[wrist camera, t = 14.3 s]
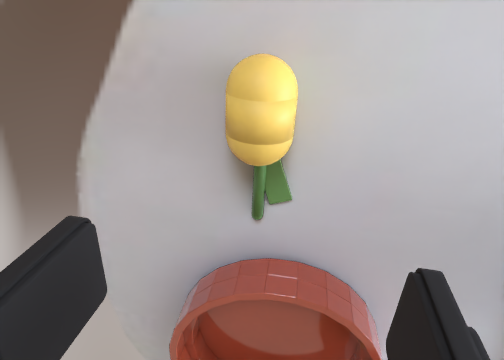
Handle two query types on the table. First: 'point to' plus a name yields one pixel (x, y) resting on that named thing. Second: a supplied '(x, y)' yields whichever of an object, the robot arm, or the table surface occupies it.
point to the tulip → (262, 123)
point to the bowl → (273, 316)
